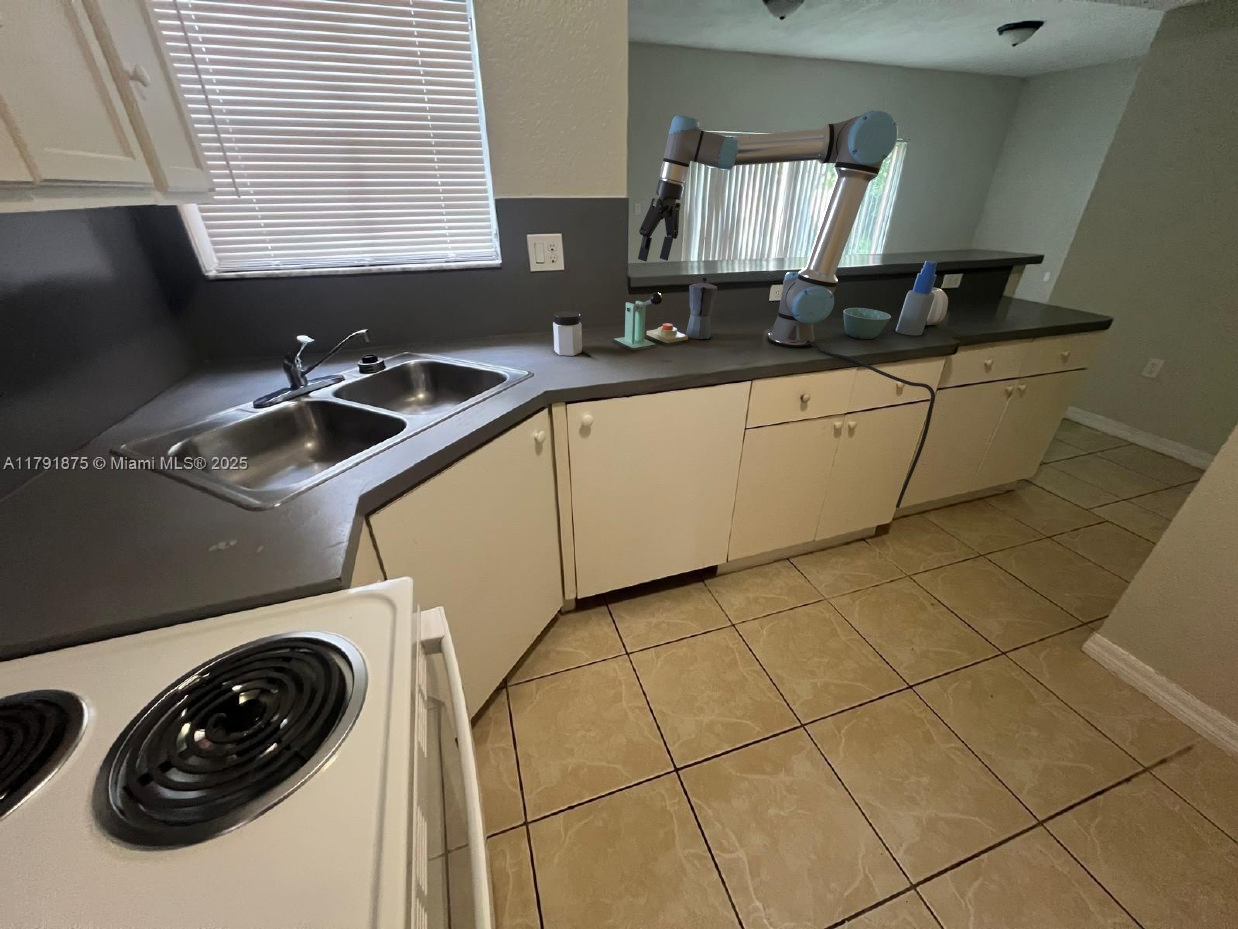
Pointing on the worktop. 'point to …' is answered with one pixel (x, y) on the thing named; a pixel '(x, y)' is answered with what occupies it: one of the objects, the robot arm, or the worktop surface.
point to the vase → (937, 307)
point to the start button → (667, 326)
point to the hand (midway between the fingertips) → (653, 259)
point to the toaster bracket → (634, 327)
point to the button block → (667, 335)
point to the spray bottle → (918, 302)
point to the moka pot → (701, 309)
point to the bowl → (864, 322)
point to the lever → (650, 301)
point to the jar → (567, 333)
